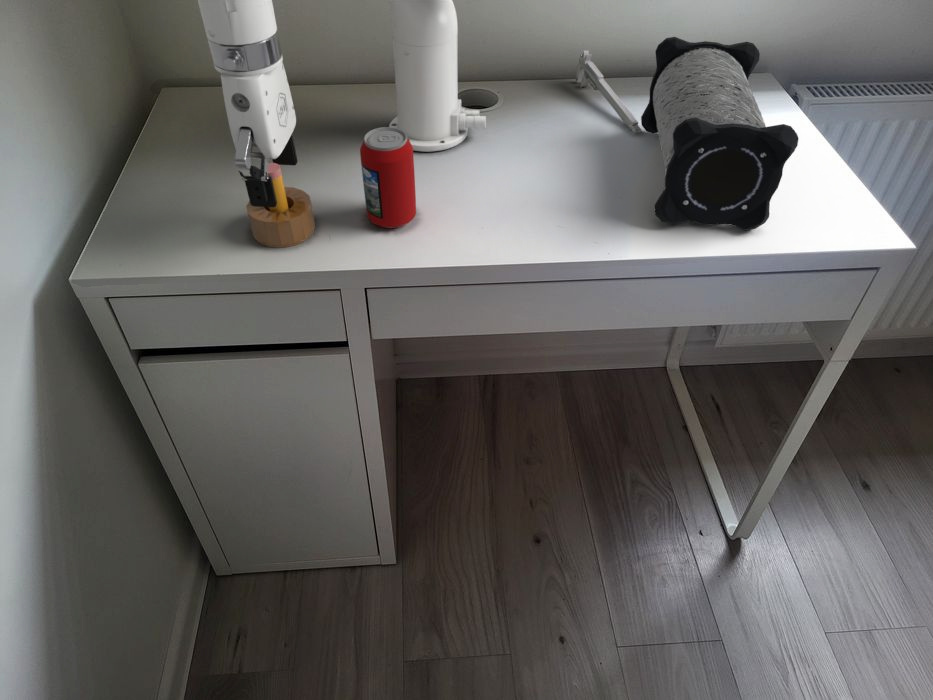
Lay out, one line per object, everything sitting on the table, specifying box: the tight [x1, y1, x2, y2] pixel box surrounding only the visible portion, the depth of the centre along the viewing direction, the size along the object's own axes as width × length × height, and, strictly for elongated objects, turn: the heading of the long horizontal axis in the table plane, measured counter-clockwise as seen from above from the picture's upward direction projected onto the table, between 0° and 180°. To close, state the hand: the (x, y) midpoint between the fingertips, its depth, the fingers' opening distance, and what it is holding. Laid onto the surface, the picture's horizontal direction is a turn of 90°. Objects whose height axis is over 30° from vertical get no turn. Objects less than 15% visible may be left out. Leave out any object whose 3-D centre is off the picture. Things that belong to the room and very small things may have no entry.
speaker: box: [640, 36, 799, 231], centre depth 99 cm, size 15×29×15 cm, turn 174°
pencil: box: [268, 162, 289, 213], centre depth 92 cm, size 2×2×9 cm
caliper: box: [575, 49, 642, 134], centre depth 119 cm, size 20×1×6 cm, turn 22°
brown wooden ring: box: [246, 186, 316, 249], centre depth 94 cm, size 8×8×4 cm
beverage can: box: [359, 126, 417, 229], centre depth 93 cm, size 7×7×12 cm
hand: (275, 183), depth 90 cm, fingers open, 9 cm apart
